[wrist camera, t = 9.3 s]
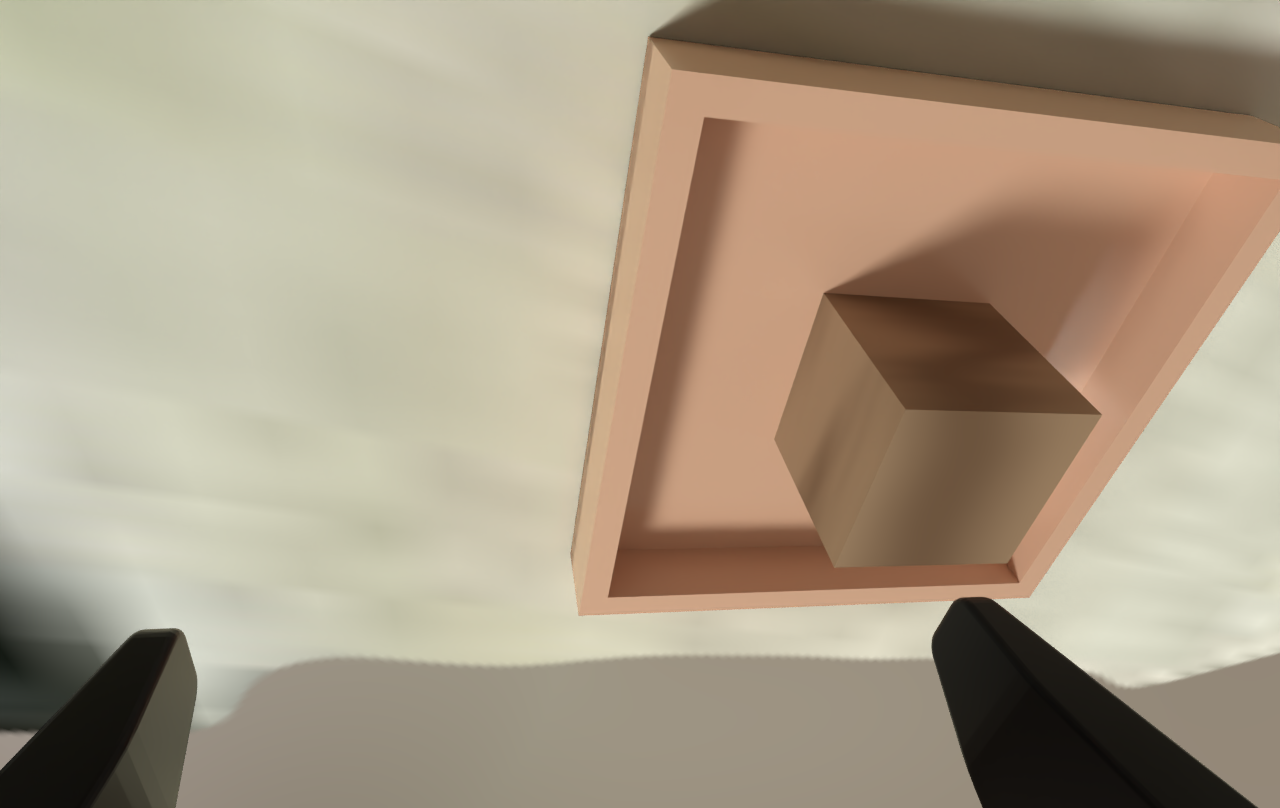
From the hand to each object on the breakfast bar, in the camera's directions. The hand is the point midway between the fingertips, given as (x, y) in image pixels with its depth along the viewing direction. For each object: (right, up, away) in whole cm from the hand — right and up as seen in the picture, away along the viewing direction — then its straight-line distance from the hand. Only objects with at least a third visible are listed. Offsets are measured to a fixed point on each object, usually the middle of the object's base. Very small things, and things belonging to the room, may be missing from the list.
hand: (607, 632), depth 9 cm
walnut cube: (+7, +3, +13) cm, 16 cm away
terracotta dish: (+7, +4, +14) cm, 16 cm away
